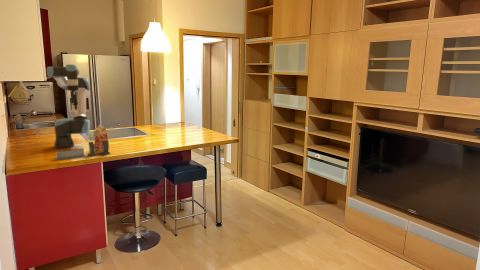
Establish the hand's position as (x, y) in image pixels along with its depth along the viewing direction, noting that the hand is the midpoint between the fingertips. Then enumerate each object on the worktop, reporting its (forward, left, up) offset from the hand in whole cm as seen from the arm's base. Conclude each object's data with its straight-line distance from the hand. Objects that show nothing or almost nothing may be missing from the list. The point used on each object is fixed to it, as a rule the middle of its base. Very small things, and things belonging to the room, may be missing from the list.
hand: (75, 112), depth 261 cm
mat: (+15, -7, -32) cm, 36 cm away
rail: (+15, -7, -31) cm, 35 cm away
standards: (+15, +13, -32) cm, 37 cm away
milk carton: (-1, +18, -32) cm, 37 cm away
